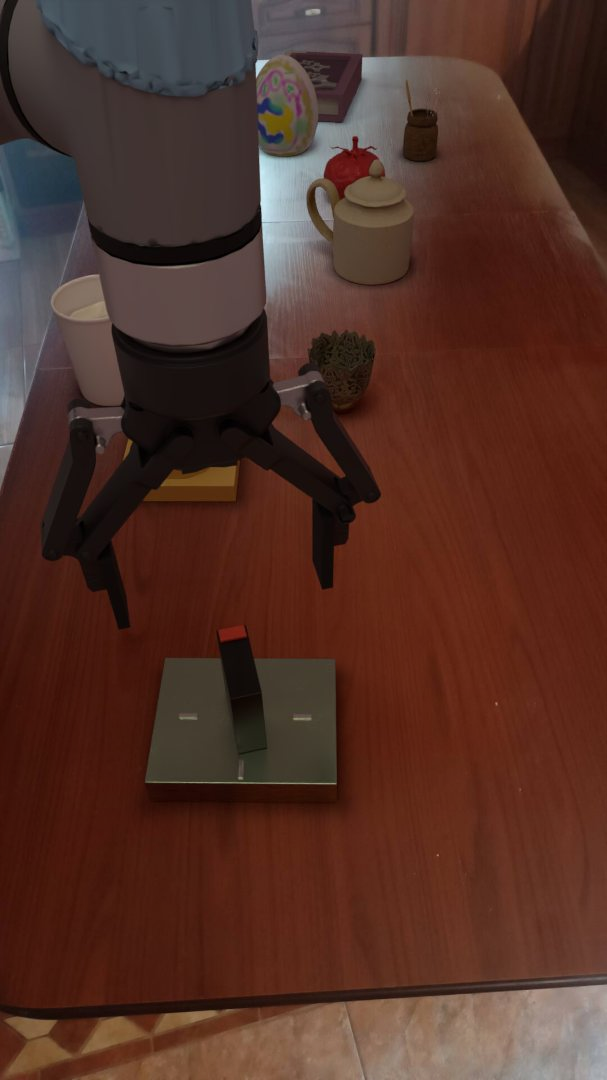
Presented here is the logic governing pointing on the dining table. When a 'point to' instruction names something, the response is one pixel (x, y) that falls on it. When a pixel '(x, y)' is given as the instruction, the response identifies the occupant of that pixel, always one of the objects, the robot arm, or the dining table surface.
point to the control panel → (209, 742)
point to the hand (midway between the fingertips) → (224, 593)
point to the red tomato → (349, 166)
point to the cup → (343, 366)
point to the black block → (242, 688)
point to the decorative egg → (285, 107)
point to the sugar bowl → (367, 227)
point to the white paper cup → (89, 339)
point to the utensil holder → (420, 132)
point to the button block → (196, 484)
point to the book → (331, 80)
